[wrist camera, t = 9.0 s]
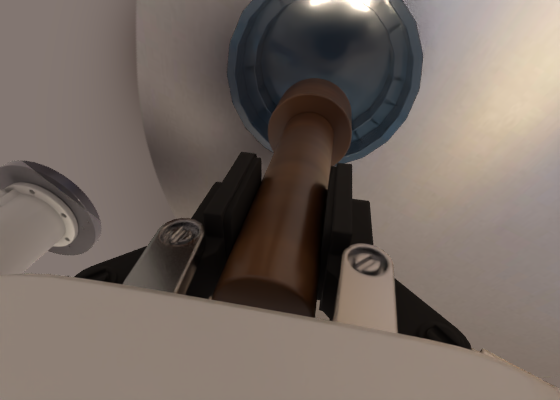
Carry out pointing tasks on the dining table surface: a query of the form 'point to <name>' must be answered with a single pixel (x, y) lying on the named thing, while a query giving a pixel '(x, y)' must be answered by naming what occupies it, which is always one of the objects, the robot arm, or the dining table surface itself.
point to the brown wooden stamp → (290, 204)
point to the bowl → (328, 62)
